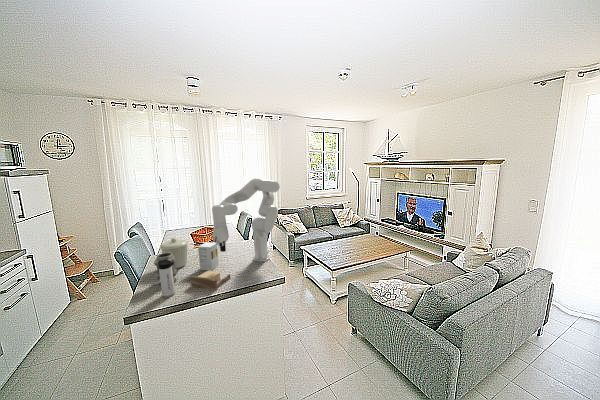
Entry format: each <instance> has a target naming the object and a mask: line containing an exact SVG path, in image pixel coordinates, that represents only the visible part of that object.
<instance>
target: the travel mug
mask: <svg viewBox="0 0 600 400" xmlns="http://www.w3.org/2000/svg"><path fill="white" fill-rule="evenodd" d="M158 265H159V274H160V280H159V282H160V281H161V286H160V288H161V296H162V298H166V299H167V298H171V297H173V296H174V295H175V293H176V290H175V289H176V288H175V283H174V281H173V278H174V277H173V272H172V265H171V261H170V260H163V261H159V262H158Z"/></svg>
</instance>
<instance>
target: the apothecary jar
mask: <svg viewBox="0 0 600 400" xmlns="http://www.w3.org/2000/svg"><path fill="white" fill-rule="evenodd" d="M163 260H170V261H171V265H172V272H173V281H174V284H175V283H176V282H177V278H176V276H177V274H178V271H179V270H178V268H177V269H176V268H175V265H174V262H175V261H176V258H175V256H173V255H172V253H170V252H168V253H162V252H161V253H159V254H157V255H156V258H155V260H154V262H153V265H154V266H156V270H157V272H156V273H155V279H156V280H159V283H158V285H159V286H160V287H161V281H160V274H159V265H158V262H159V261H163Z"/></svg>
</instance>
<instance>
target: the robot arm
mask: <svg viewBox="0 0 600 400" xmlns="http://www.w3.org/2000/svg"><path fill="white" fill-rule="evenodd" d="M280 187H281V185H280V183H279V182H278V181H277V180H272V179H271V180H270V179H265V178H264V179H263V178H251V180H250V181H248V182H247V183H246V184H245V185H244V186H243V187H241V189H239V190H237V191H236V192H234V193H231V194H230V195H228V196H227V197H226V198H224V199H223V200H222V201H221V202H220V204H215V205H213V206H212V207H211V212H212V221H213V231H212V236H213V243H216V245H217V246H219V249H220V250H219V251H220V252H221V253H222V252H223V253H225V252H226V251H227V250H226V249H227V248H226V244H227V241H228V240H229V237H230V236H229V235H230V234H229V228H228V225H227V219H226V216H232V215H235V214H237V212H238V209H239V208H238V205H236V204H238V203H242V202H245V201H249V199H251V198H252V196H253V195H255V194H256V193H257V192H262V200H261V203H260V206H259V207H258V211H257V212H258V215H259V216H260V217H256V218H254V219H253V220H252V221H251V229H252V232H253V243H254V244H253V245H254V246H253V248H254V256H252V260H253V261H255V262H257V263H259V262H260V263H261V262H262V263H263V262H267V261H269V260H270V257H271V256H270V255H269V253H270V249H268V237H267V236H268V235H267V234H268V233H270V232H272V230H273V229H274V226H275V223H276V221H277V218H278V214H279V210H278V208H277V206H275V205H274V202H275V195H274V193H277V192H278V191H279V190H280ZM263 217H264V218H263Z"/></svg>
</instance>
